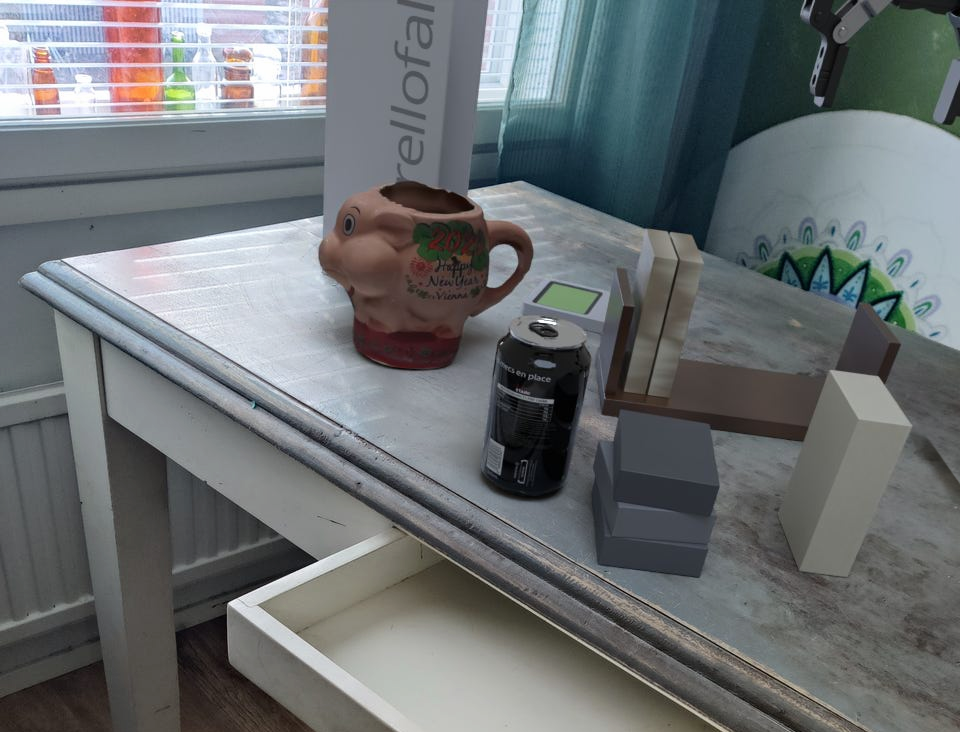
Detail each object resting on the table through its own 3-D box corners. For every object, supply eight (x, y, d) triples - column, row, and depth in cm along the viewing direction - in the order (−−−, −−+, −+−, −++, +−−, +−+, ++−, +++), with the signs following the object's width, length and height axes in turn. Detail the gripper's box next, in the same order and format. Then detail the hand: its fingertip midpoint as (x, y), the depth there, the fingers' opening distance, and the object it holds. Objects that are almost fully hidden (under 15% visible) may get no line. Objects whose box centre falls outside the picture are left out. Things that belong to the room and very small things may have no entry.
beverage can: (533, 453, 80) (558, 308, 73) (583, 493, 76) (615, 344, 69) (462, 467, 77) (481, 316, 69) (510, 510, 73) (536, 355, 65)
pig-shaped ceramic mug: (489, 321, 102) (508, 178, 94) (541, 370, 94) (567, 218, 85) (300, 329, 94) (302, 173, 86) (339, 383, 86) (346, 217, 77)
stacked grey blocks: (684, 504, 77) (708, 420, 72) (701, 578, 69) (730, 488, 64) (586, 491, 76) (604, 406, 72) (592, 564, 68) (613, 472, 64)
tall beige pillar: (821, 520, 77) (878, 376, 70) (847, 577, 71) (912, 426, 64) (777, 514, 77) (829, 369, 70) (798, 571, 71) (858, 418, 64)
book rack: (832, 394, 98) (883, 256, 90) (864, 449, 89) (924, 301, 80) (594, 361, 97) (624, 219, 89) (601, 414, 88) (634, 260, 79)
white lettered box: (321, 272, 107) (329, -63, 89) (354, 263, 111) (368, -61, 93) (425, 312, 102) (456, -36, 83) (456, 300, 106) (492, -35, 87)
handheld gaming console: (661, 332, 101) (522, 299, 104) (657, 347, 102) (520, 314, 105) (675, 303, 109) (546, 273, 112) (672, 317, 110) (544, 287, 113)
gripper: (887, -215, 54) (794, 111, 64) (1132, -176, 55) (1004, 140, 65) (848, -208, 60) (769, 90, 70) (1071, -173, 61) (961, 117, 71)
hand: (882, 114), depth 68 cm, fingers open, 8 cm apart
